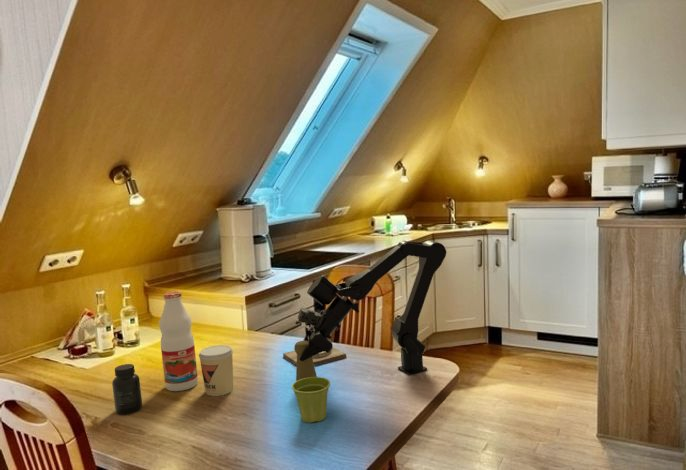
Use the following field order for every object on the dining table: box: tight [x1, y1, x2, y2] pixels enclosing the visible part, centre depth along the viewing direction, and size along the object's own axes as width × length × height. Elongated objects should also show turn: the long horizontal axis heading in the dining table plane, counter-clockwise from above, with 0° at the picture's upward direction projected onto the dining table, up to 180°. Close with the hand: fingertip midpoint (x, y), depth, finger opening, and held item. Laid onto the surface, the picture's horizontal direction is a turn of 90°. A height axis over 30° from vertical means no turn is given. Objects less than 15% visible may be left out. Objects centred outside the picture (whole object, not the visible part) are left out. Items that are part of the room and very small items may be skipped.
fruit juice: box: [158, 290, 199, 392], centre depth 161 cm, size 9×9×28 cm
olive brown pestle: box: [293, 340, 318, 382], centre depth 157 cm, size 6×6×11 cm
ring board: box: [282, 346, 347, 367], centre depth 180 cm, size 14×16×2 cm
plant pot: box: [291, 376, 331, 424], centre depth 136 cm, size 9×9×9 cm
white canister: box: [198, 344, 234, 397], centre depth 157 cm, size 9×9×12 cm
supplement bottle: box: [111, 363, 143, 416], centre depth 147 cm, size 7×7×12 cm
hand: (299, 357), depth 157 cm, fingers closed on olive brown pestle, 5 cm apart
